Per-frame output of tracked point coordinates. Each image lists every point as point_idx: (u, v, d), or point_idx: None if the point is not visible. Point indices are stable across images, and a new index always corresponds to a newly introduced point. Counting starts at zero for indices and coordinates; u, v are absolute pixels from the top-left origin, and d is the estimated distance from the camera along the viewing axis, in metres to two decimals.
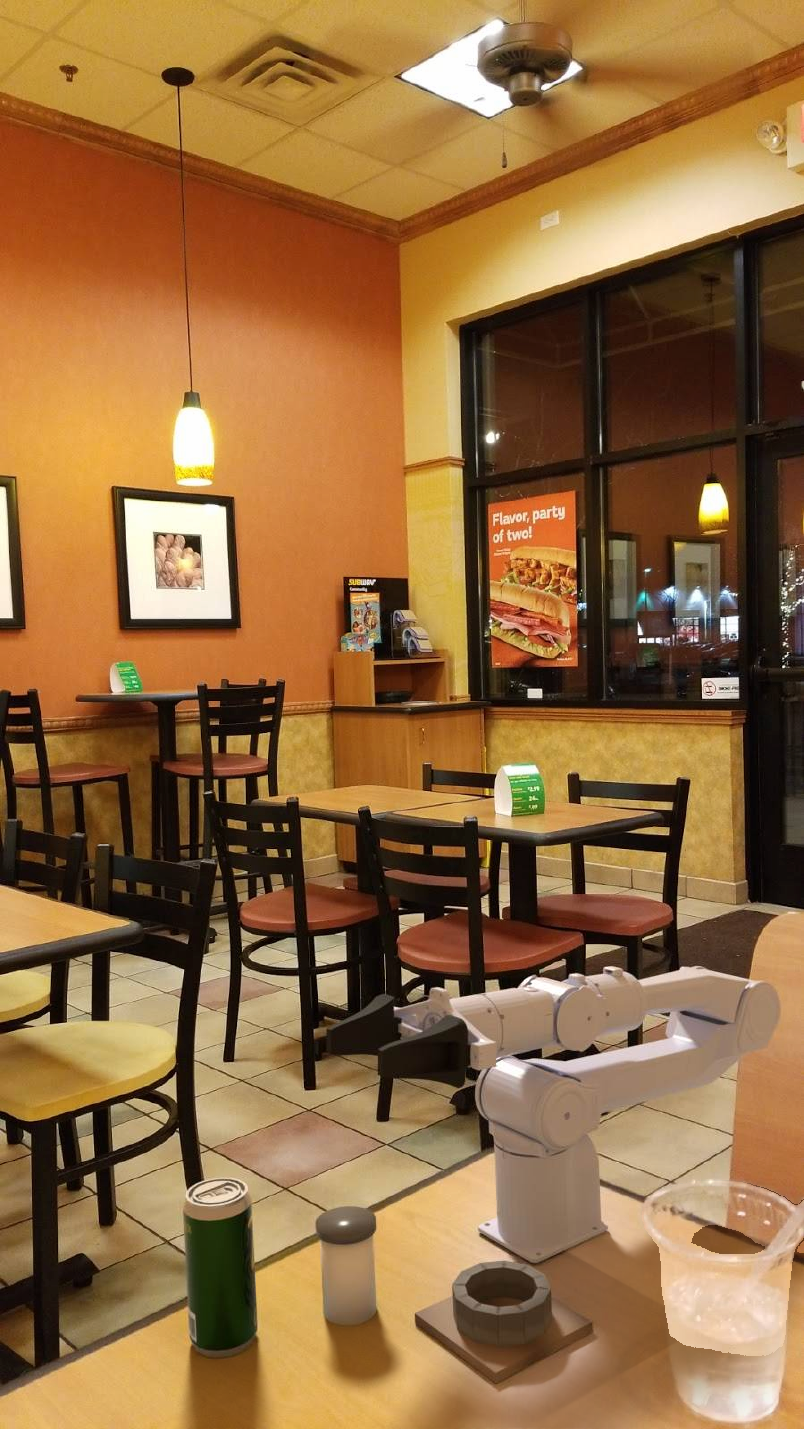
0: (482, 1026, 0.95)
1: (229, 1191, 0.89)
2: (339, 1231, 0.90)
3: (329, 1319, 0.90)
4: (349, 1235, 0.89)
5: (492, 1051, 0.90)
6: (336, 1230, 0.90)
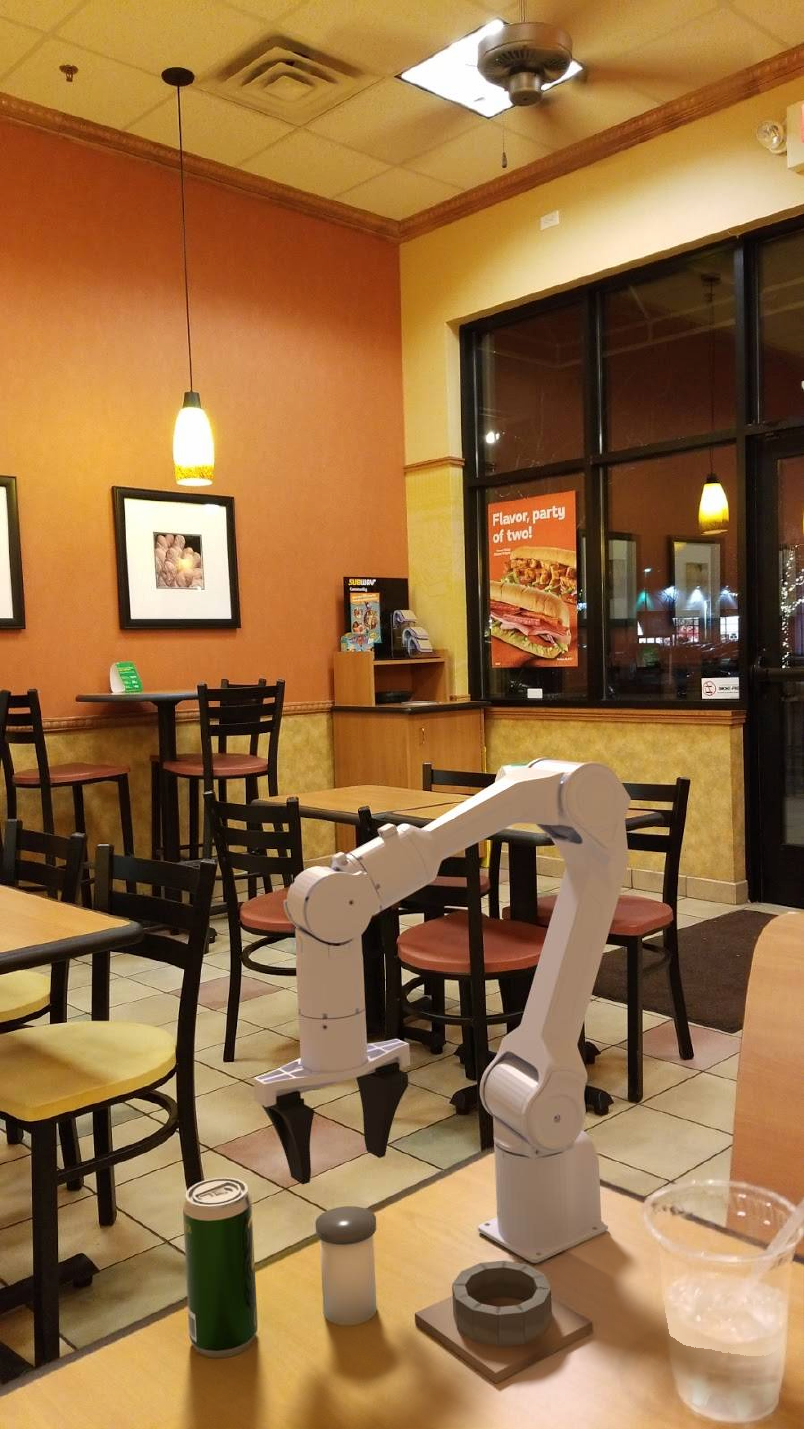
0: (300, 1037, 0.94)
1: (229, 1191, 0.89)
2: (339, 1231, 0.90)
3: (329, 1319, 0.90)
4: (349, 1235, 0.89)
5: (257, 1085, 0.91)
6: (336, 1230, 0.90)
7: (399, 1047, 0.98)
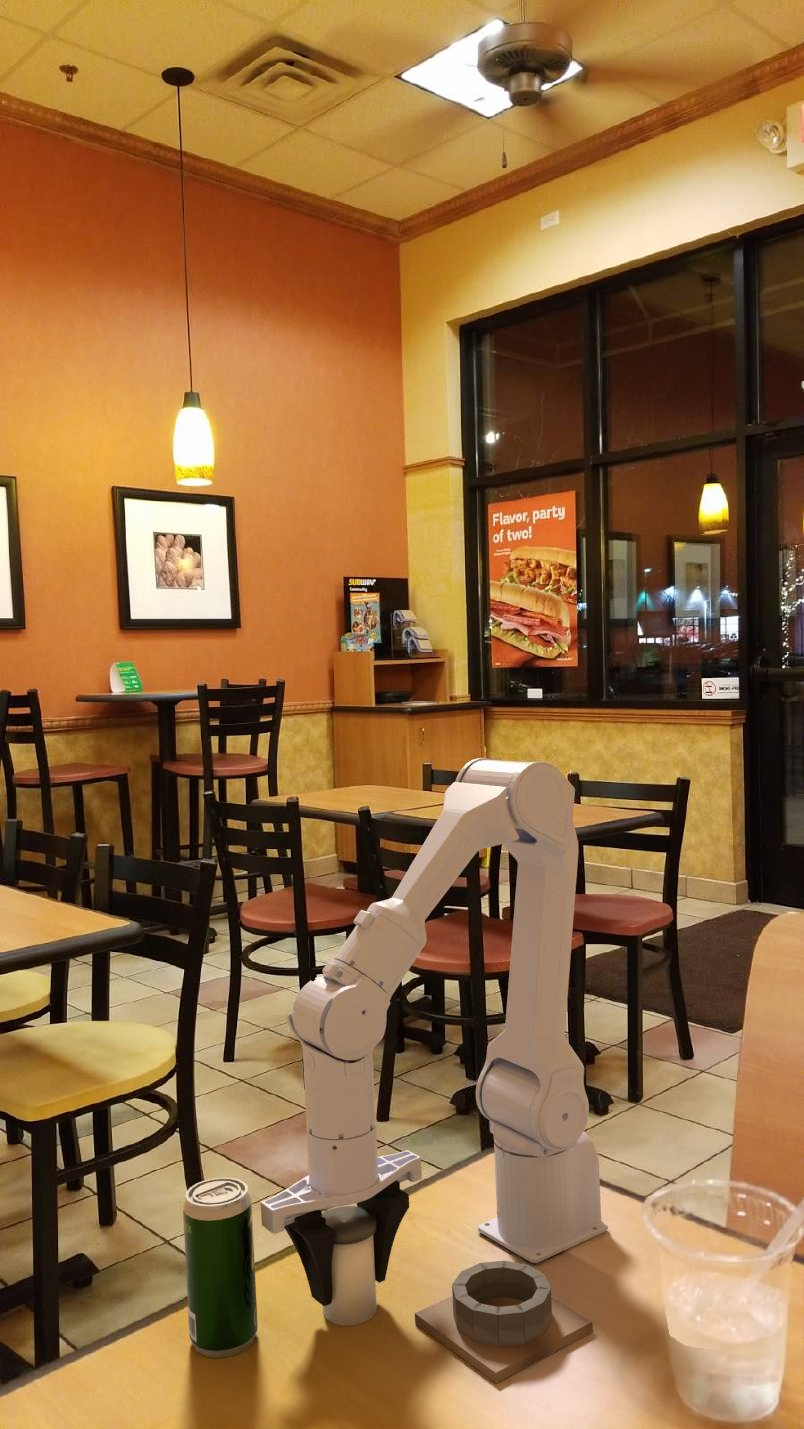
0: (308, 1156, 0.91)
1: (229, 1191, 0.89)
2: (339, 1231, 0.90)
3: (329, 1319, 0.90)
4: (349, 1235, 0.89)
5: (264, 1210, 0.88)
6: (336, 1230, 0.90)
7: (411, 1161, 0.94)
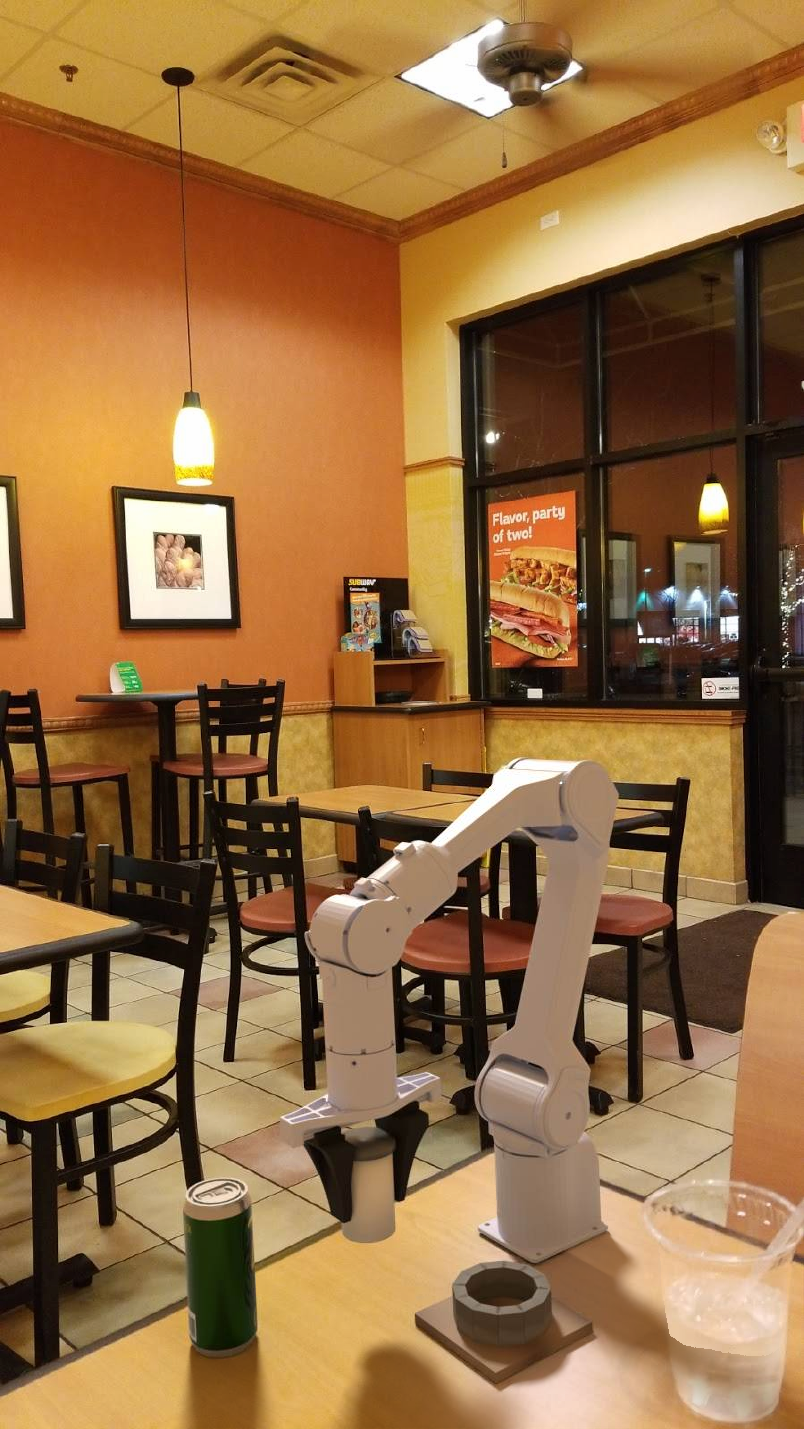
0: (327, 1073, 0.90)
1: (229, 1191, 0.89)
2: (358, 1148, 0.89)
3: (348, 1237, 0.90)
4: (368, 1152, 0.89)
5: (283, 1125, 0.87)
6: None
7: (430, 1082, 0.93)
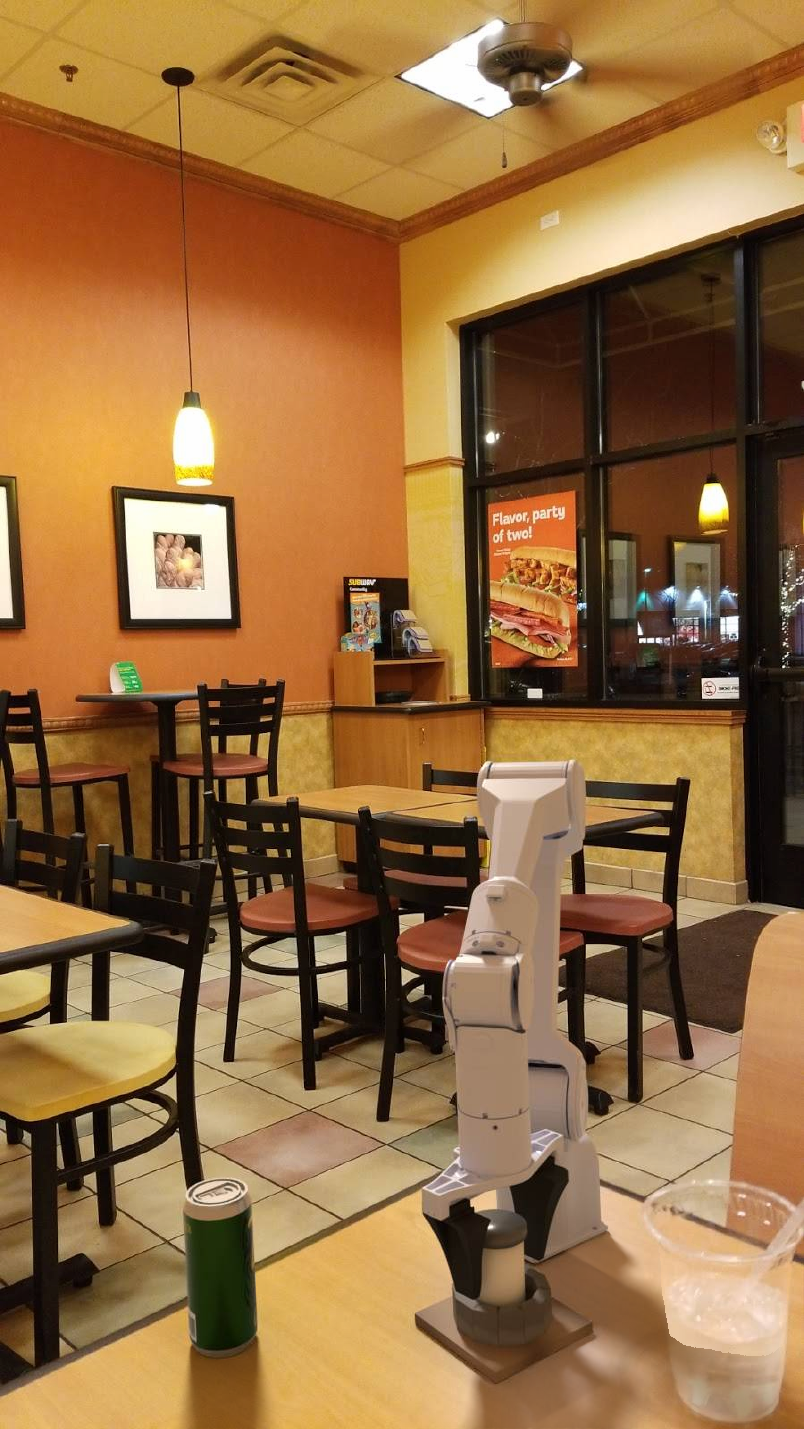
0: (462, 1138, 0.87)
1: (229, 1191, 0.89)
2: (495, 1235, 0.86)
3: None
4: (507, 1239, 0.86)
5: (427, 1196, 0.83)
6: (491, 1235, 0.87)
7: (555, 1140, 0.91)
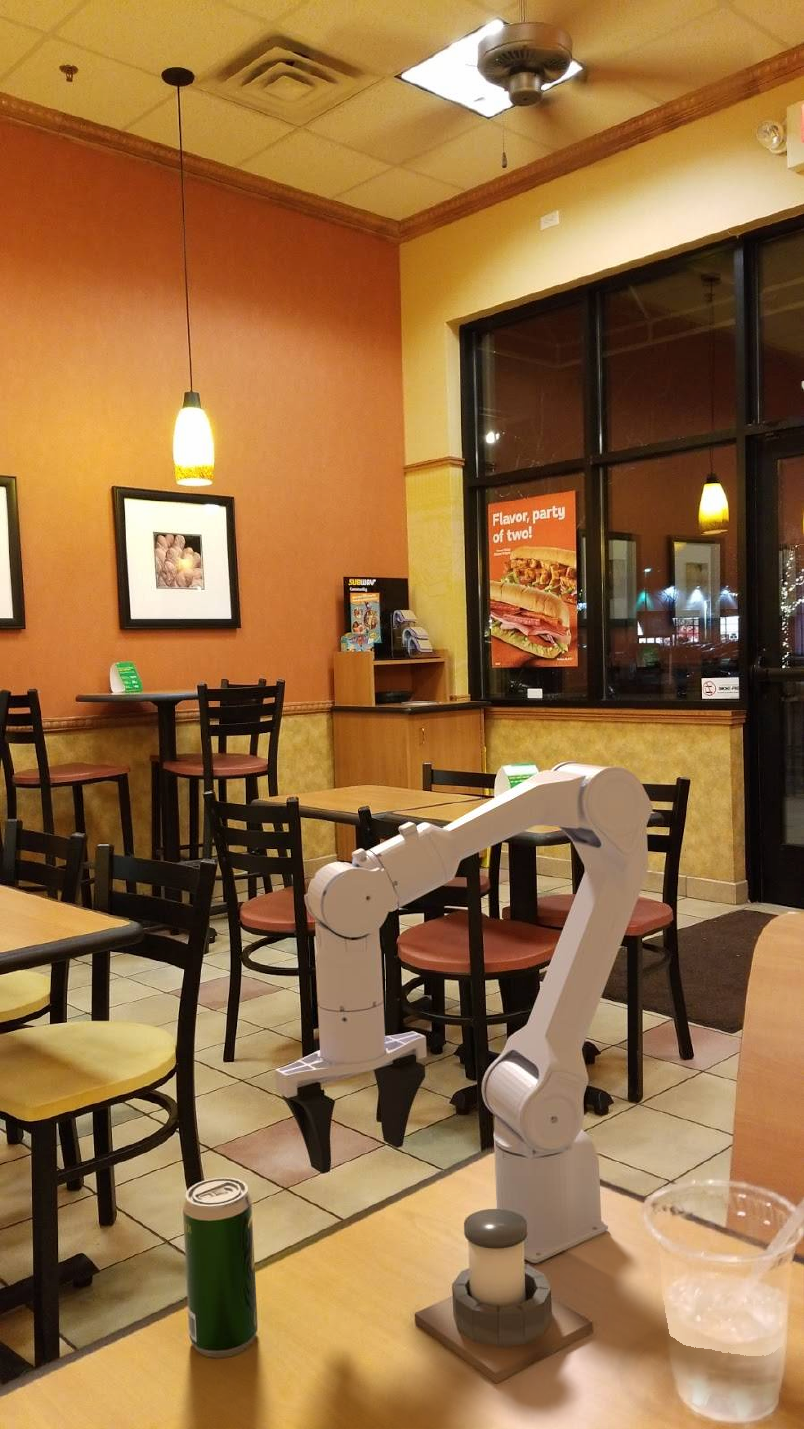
0: (319, 1030, 0.96)
1: (229, 1191, 0.89)
2: (496, 1235, 0.86)
3: None
4: (508, 1238, 0.86)
5: (278, 1077, 0.93)
6: (492, 1234, 0.87)
7: (416, 1039, 1.00)
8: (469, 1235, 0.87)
